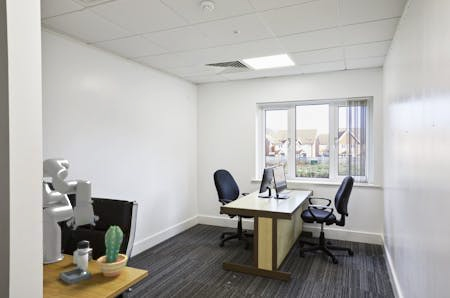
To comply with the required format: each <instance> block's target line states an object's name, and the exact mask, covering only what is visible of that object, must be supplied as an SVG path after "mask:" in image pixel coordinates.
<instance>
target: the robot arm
mask: <svg viewBox="0 0 450 298" xmlns="http://www.w3.org/2000/svg"><path fill="white" fill-rule="evenodd" d="M42 162H43V177H42V178H51V185H52V188H53V190H52V189H51V188H50V185H49V184H48V183H47V181H45V180H43V179H42V180H43V207H42V208H43V265H46V264H47V265H48V264H54V263H58V262H60V261H62V260H64V255H63V254H62V252H61V250H62V230H61V228H62V227H61V226H60V225H59V224H58V222H63V221H66V225H67V226H68V228H70V229H71V236H72V237H73V238H77V228H78V227H79V226H84V225H89V224H90V225H89V232H90V234H94V233H95V228H96V227H95V226H96V224H97V223H98V221H99V219H100V217H99V216H98V215H95V213H94V209H93V205H92V203H94V200H92V182H91V181H90V180H83V179H73V180H72V179H71V180H66V179H67V178H68V176H69V171H68V170H69V166H70V164H69V162H68V160H67V159H65V158H47V159H45V160H43V161H42ZM72 194H73V195H74V194H75V206H74V207H73V206H72V205H71V202H70V200H69V197H68V195H72Z"/></svg>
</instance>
